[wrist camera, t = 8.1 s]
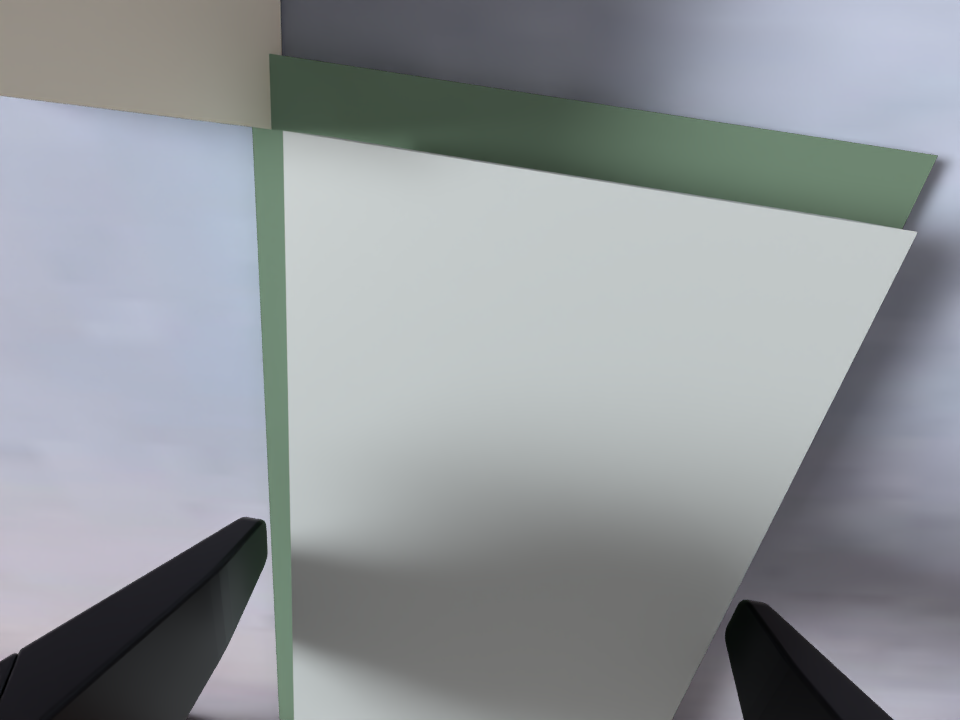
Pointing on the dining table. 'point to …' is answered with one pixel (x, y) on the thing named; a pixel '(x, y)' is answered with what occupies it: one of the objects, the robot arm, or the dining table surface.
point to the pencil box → (144, 56)
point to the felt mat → (542, 146)
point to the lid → (541, 425)
